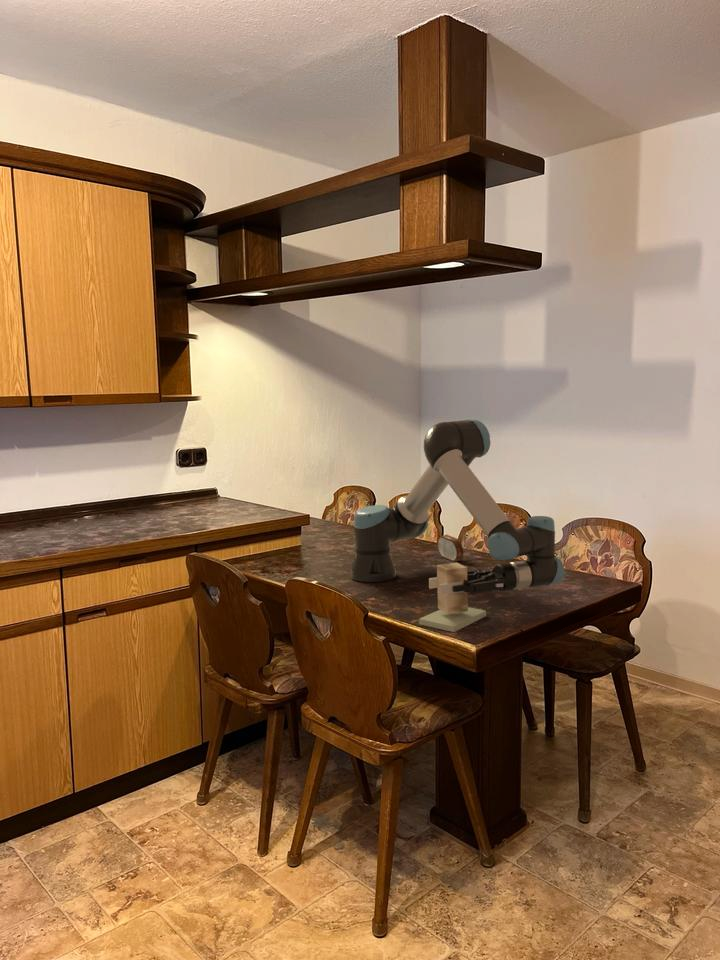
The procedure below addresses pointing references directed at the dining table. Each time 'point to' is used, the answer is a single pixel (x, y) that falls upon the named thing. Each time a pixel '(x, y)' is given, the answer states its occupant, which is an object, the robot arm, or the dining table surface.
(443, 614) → the sage board
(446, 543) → the tin
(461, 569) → the maple block
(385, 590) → the dining table surface
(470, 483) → the robot arm
